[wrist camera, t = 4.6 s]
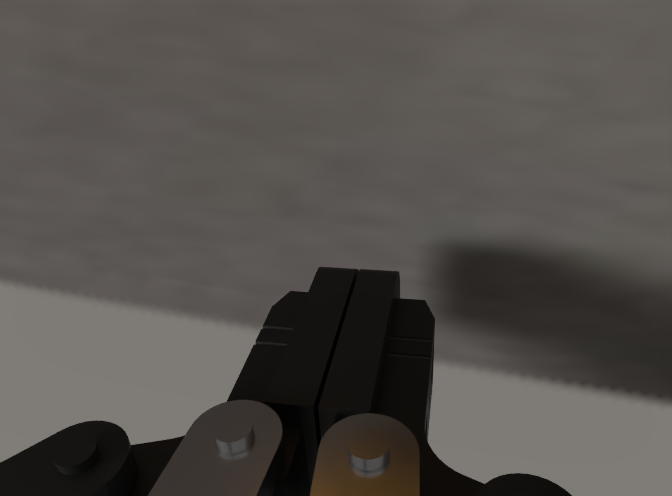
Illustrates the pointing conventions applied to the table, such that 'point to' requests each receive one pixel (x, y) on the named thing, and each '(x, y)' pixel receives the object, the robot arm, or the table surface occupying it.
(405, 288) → the table surface
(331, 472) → the robot arm
